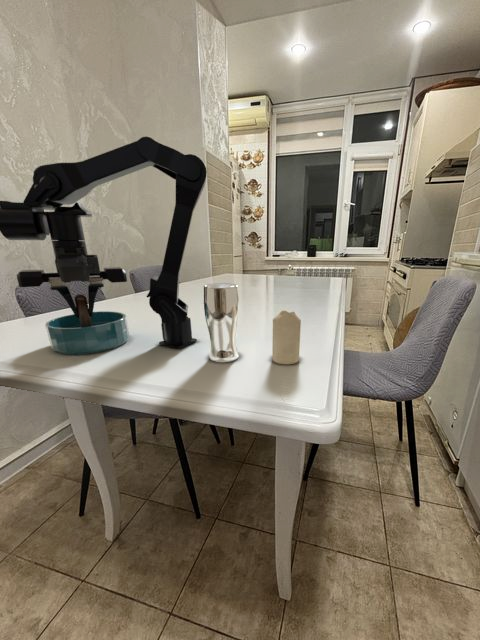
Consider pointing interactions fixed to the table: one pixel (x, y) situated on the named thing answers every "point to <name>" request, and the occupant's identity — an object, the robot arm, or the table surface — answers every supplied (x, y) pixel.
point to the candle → (286, 338)
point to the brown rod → (83, 310)
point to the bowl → (88, 333)
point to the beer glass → (222, 320)
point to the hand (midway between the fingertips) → (84, 316)
